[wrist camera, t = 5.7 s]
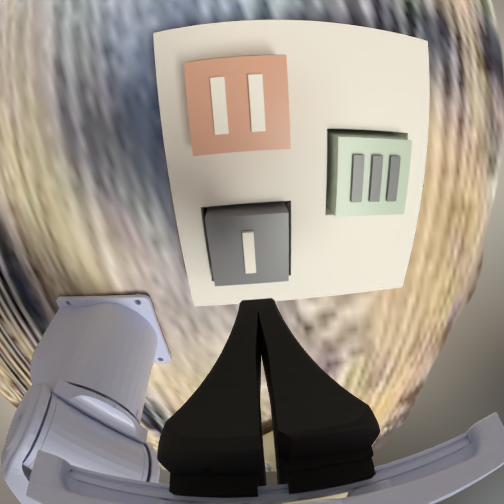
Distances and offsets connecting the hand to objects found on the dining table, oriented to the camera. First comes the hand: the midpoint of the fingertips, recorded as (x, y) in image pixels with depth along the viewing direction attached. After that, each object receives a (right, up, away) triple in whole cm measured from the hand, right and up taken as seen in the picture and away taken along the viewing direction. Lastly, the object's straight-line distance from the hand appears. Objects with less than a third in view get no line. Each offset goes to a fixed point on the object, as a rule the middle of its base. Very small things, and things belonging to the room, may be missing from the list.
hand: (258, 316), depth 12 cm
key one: (-1, +4, +7) cm, 8 cm away
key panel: (+3, +8, +5) cm, 10 cm away
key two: (-1, +11, +2) cm, 11 cm away
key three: (+6, +8, +5) cm, 11 cm away
